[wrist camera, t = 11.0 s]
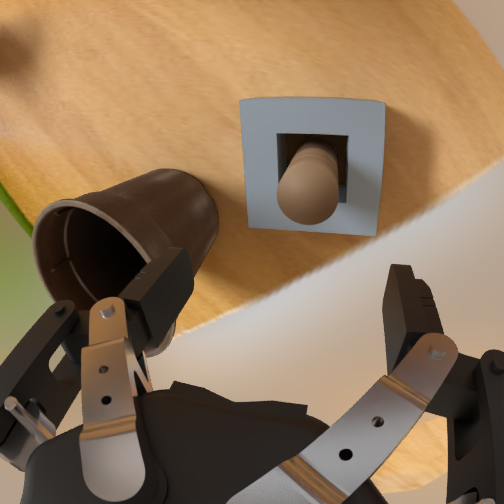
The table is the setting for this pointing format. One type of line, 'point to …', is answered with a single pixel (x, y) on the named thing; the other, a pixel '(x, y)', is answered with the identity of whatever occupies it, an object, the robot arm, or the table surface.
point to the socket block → (313, 122)
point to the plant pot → (121, 236)
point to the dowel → (310, 183)
